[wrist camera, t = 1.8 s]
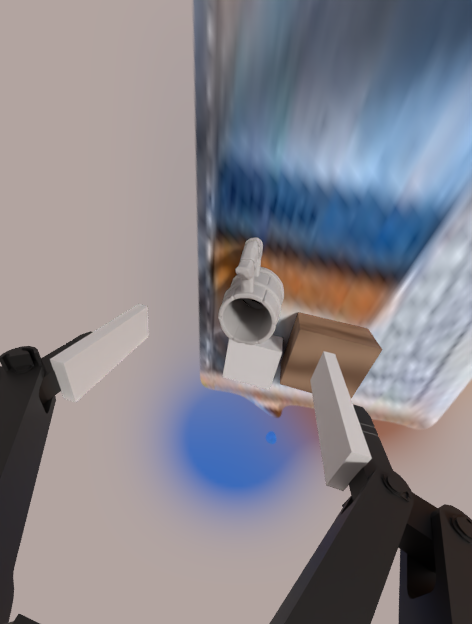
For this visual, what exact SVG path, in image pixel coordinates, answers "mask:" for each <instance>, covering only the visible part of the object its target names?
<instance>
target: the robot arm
mask: <svg viewBox="0 0 472 624" xmlns="http://www.w3.org/2000/svg"><path fill="white" fill-rule="evenodd" d="M147 337H149V325H148V306H144V305H140V304H138V305H136V306H134V307H133V308H131V309H130V310H128V311H126V312H125V313H123V314H121V315H120V316H118V317H117V318H115V319H114V320H112V321H110V322H109V323H107V324H105V325H104V326H102V327H101V328H99V329H97V330H96V331H94V332H88V333H85V334H82V335H80V336H78V337H76V338H75V339H73V340H72V341H70V342H68V343H66V345H63V346H61V347H60V348H58V349H56V350H55V351H53V352H51V353H50V354H48V355H46V356H45V357H43V358H41V357H40V355H39V352H38V350H37V349H36V348H35V347H31V346H24V347H19V348H15V349H12V350H9V351H7V352H5V353H3V354H2V355H1V356H0V362H1V364H2V367H1V366H0V624H39V623H37V622H35V621H33V620H31V619H29V618H27V617H25V616H23V615H21V614H18V616H17V617H16V619H15V620H14V621H13V622H10V623H8V622H9V617H10V613H11V608H12V603H13V596H14V583H13V571H14V566H15V562H16V557H17V553H18V550H19V546H20V542H21V538H22V534H23V530H24V526H25V522H26V518H27V514H28V510H29V506H30V502H31V498H32V494H33V490H34V486H35V482H36V478H37V474H38V470H39V466H40V462H41V458H42V454H43V450H44V446H45V442H46V438H47V434H48V430H49V426H50V422H51V418H52V413H53V409H54V406H55V402H56V398H55V395H56V394H57V393H59V392H60V391H61V392H62V396H63V398H64V399H67V400H70V401H73V402H77V401H78V400H79V399H80V398H81V397H82V396H84V395H85V394H86V393H87V392H88V391H89V390H90V389H91V388H92V387H93V386H94V385H96V384H97V383H98V382H99V381H100V380H101V379H102V378H103V377H104V376H106V375H107V374H108V373H109V372H110V371H111V370H112V369H113V368H114V367H116V366H117V365H118V364H119V363H120V362H121V361H122V360H123V359H124V358H125V357H127V356H128V355H129V354H130V353H131V352H132V351H133V350H134V349H135V348H136V347H138V346H139V345H140V344H141V343H142V342H143V341H144V340H145V339H146V338H147ZM310 381H311V388H312V394H313V401H314V408H315V414H316V420H317V427H318V434H319V441H320V447H321V454H322V461H323V467H324V474H325V481H326V485H327V486H330V487H333V488H336V489H339V490H342V491H344V490H345V488H346V487H347V486H348V485H349V487H350V491H351V497H350V498H349V499H348V500H347V501H346V502H345V503H344V504H343V505H342V506H343V508H342V510H341V512H340V513H339V515H338V516H337V518H336V519H335V521H334V523H333V524H332V526H331V528H330V529H329V531H328V532H327V534H326V535H325V537H324V539H323V540H322V542H321V543H320V545H319V546H318V548H317V550H316V551H315V553H314V554H313V556H312V557H311V559H310V561H309V562H308V564H307V565H306V567H305V569H304V570H303V572H302V573H301V575H300V576H299V578H298V580H297V581H296V583H295V584H294V586H293V587H292V589H291V591H290V592H289V594H288V595H287V597H286V599H285V600H284V602H283V603H282V605H281V606H280V608H279V610H278V611H277V613H276V615H275V616H274V618H273V619H272V621H271V622H270V624H371V621H372V618H373V616H374V613H375V610H376V607H377V604H378V602H379V599H380V596H381V593H382V590H383V588H384V585H385V582H386V579H387V577H388V574H389V571H390V568H391V565H392V563H393V560H394V557H395V554H396V552H397V549H398V548H400V588H399V624H472V520H471V519H470V518H469V517H468V516H467V515H465V514H464V513H463V512H462V511H460V510H459V509H457V508H455V507H453V506H451V505H443V506H441V507H439V508H436V507H435V506H433V505H431V504H430V503H428V502H427V501H425V500H423V499H422V498H420V497H419V496H417V495H415V494H414V493H413V492H411V489H410V488H409V486H408V485H407V483H406V482H405V481H404V480H403V479H402V478H401V476H400V475H398V474H397V473H396V472H394V471H393V469H392V467H391V465H390V463H389V460H388V458H387V456H386V453H385V451H384V448H383V446H382V443H381V441H380V439H379V437H378V434H377V431H376V429H375V428H374V424H373V422H372V419H371V417H370V416H369V414H368V413H367V412H366V411H365V409H364V408H363V407H360V406H356V405H353V403H352V401H351V398H350V395H349V392H348V389H347V386H346V384H345V381H344V378H343V375H342V372H341V369H340V367H339V364H338V361H337V358H336V355H335V354H333V353H329V352H325V351H323V353H322V356H321V358H320V360H319V362H318V364H317V367H316V369H315V371H314V373H313V375H312V378H311V380H310Z"/></svg>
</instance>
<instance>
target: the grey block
mask: <svg viewBox="0 0 472 624" xmlns="http://www.w3.org/2000/svg"><path fill="white" fill-rule="evenodd" d="M282 346H283V337H279V336H275V335H272V336H271V337H270V338H269V339H268V340H266V341H265V342H263V343H261V344H256V345H246V344H245V343H237V342H235V341H233V340H232V339H230V338H229V343H228V348H227V354H226V360H225V366H224V372H223V377H224V378H228V379H231V380H235V381H238V382H242V383H245V384H249V385H252V386H255V387H259V388H262V389H266V390H270V387H271V384H272V382H273V379H274V376H275V373H276V370H277V367H278V364H279V361H280V358H281V355H282Z"/></svg>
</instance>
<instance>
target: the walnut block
mask: <svg viewBox="0 0 472 624" xmlns="http://www.w3.org/2000/svg"><path fill="white" fill-rule="evenodd" d="M323 351H325V352H329V353H333V354H335V355H336V358H337V361H338V364H339V367H340V369H341V372H342V375H343V378H344V381H345V384H346V386H347V389H348V392H349V395H350V398H352V397H353V395H354V393H355V392H356V390H357V389H358V387H359V386H360V384H361V382H362V381H363V379H364V378H365V376H366V374H367V373H368V371H369V370H370V368H371V367H372V365H373V363H374V362H375V360H376V359H377V357H378V356H379V354H380V352H381V351H382V349H381V347H380V346H379V344H378V343H377V341H376V340H375V338H374V337H373V335H372V334H371V333H370V331H369V330H368V329H367V328H362V327H358V326H354V325H350V324H346V323H341V322H337V321H333V320H329V319H325V318H320V317H316V316H312V315H308V314H304V313H299V312H298V314H297V317H296V320H295V323H294V326H293V329H292V332H291V335H290V337H289V340H288V343H287V346H286V349H285V352H284V355H283V358H282V361H281V372H280V384H282V385H285V386H289V387H292V388H296V389H299V390H303V391H306V392H310V393H312V388H311V381H310V380H311V378H312V375H313V373H314V371H315V369H316V367H317V364H318V362H319V360H320V358H321V356H322V353H323Z"/></svg>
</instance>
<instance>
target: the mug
mask: <svg viewBox="0 0 472 624" xmlns="http://www.w3.org/2000/svg"><path fill="white" fill-rule="evenodd" d="M262 250H263V243H262V241H261V240H260V239H259V238H251V239H248V240H247V241H246V242H245V247H244V250H243V252H242V255H241V259H240V263H239V265H238V267H237V268H236V269H235V271H236V274H237V275H236V276H235V277H234V278H233V281H232V283H231V287H230V288H229V289H228V290H227V291H226V292H225V295H224V298H223V302H222V305H221V307H220V309H219V313H218V320H219V322H220V325H221V328H222V330H223V332H224V333H225V334H226V336H227V337H228V338H230V339H232V340H233V341H235V342H237V343H245V344H246V345H256V344H261V343H263V342H265V341H266V340H268V339H269V338H270V337H271V336H272V334H273V333H274V331H275V328H276V324H277V322H278V320H279V318H280V314H281V305H282V302H283V298H284V288H283V284H282V282H281V280H280V279H279V277H278V276H277V275H276V274H275V273H273V272H272V271H271V270H269V269H267V268H263V267H260V265H261V256H262ZM241 298H242V299H243V300H244V301H246V302H247V303H248V304H249V305H250V306H252V307H250V306H249V305H247V304H246V303H244V302H243V301H242V299H241ZM247 298H250V299H254V300H256V301H259V302H261V303H262V304H263V305H264V306H262V305H260V304H258V303H256V302H253V301H251V300H249V299H247Z"/></svg>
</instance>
